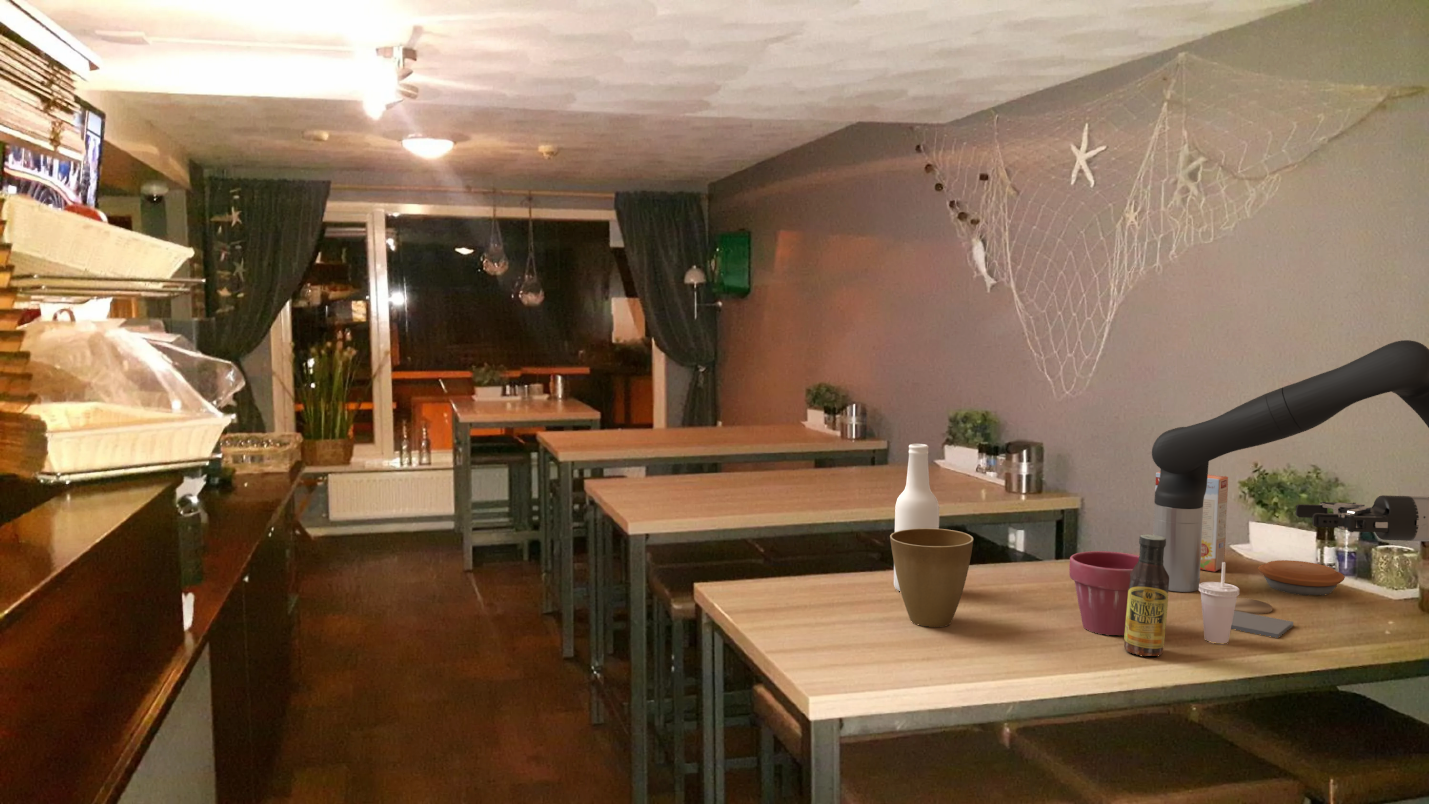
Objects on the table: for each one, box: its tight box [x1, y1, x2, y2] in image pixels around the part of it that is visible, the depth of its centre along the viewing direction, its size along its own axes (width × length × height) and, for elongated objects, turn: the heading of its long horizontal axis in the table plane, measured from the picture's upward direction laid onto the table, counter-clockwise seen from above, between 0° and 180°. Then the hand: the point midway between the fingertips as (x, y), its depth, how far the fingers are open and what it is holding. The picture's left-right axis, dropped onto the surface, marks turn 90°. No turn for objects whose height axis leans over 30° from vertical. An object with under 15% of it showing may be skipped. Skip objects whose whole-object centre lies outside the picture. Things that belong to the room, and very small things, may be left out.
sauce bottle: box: [1123, 534, 1169, 657], centre depth 171 cm, size 7×6×20 cm
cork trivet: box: [1234, 597, 1273, 615], centre depth 199 cm, size 9×9×1 cm
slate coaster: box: [1231, 611, 1294, 639], centre depth 187 cm, size 10×10×1 cm
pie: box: [1257, 559, 1346, 596], centre depth 213 cm, size 16×16×5 cm
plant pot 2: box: [1068, 550, 1140, 636], centre depth 184 cm, size 14×14×13 cm
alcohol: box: [893, 443, 940, 591], centre depth 208 cm, size 9×9×30 cm
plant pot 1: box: [889, 528, 974, 628], centre depth 188 cm, size 15×15×16 cm
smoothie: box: [1198, 561, 1240, 644], centre depth 178 cm, size 6×6×14 cm
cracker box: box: [1154, 471, 1229, 573], centre depth 231 cm, size 14×6×21 cm, turn 44°
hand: (1304, 515), depth 176 cm, fingers open, 8 cm apart
